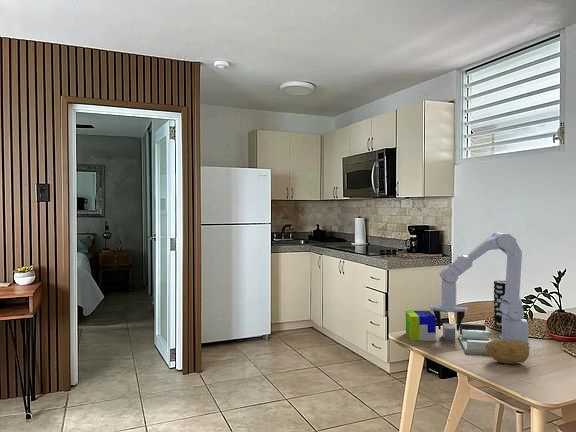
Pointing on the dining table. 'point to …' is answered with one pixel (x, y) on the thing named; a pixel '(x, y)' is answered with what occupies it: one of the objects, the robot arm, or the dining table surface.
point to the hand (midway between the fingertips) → (448, 329)
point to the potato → (508, 351)
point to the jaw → (474, 331)
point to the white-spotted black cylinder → (498, 301)
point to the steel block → (448, 332)
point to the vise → (474, 345)
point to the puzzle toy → (421, 326)
